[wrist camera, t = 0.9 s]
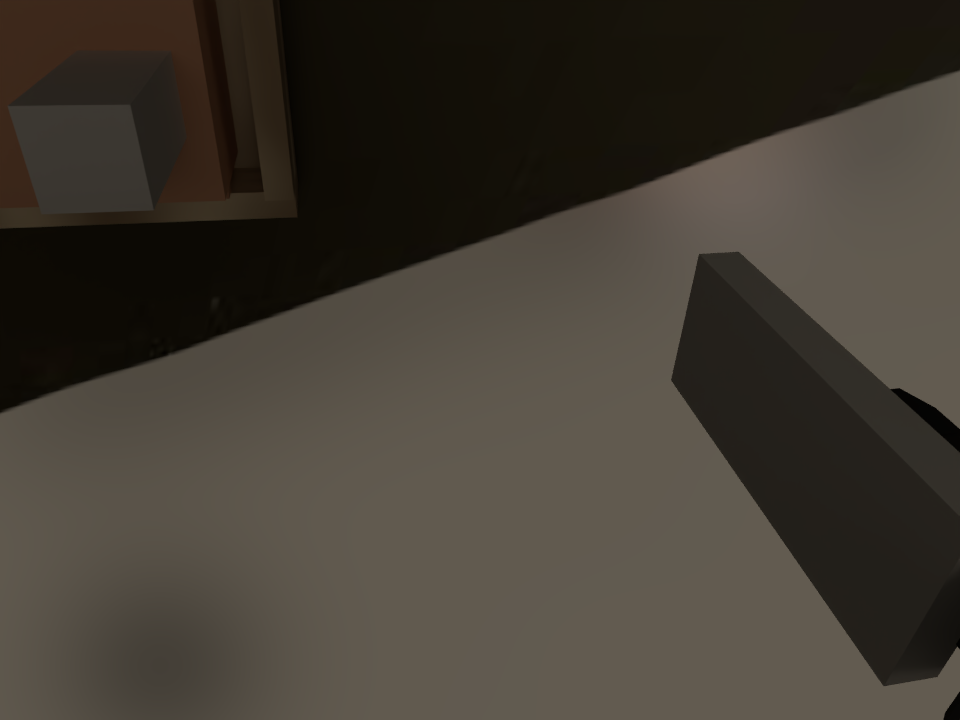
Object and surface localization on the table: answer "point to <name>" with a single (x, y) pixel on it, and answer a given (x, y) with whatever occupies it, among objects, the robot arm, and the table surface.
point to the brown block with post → (113, 105)
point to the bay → (258, 128)
